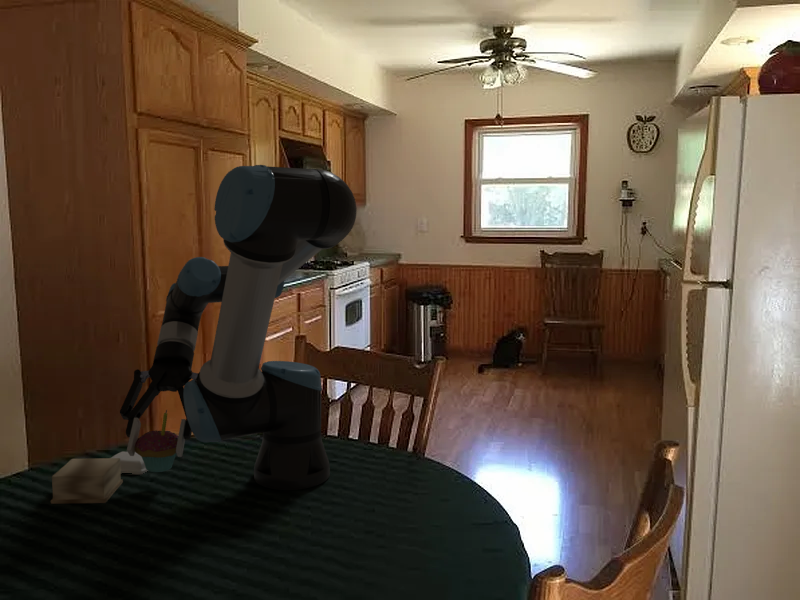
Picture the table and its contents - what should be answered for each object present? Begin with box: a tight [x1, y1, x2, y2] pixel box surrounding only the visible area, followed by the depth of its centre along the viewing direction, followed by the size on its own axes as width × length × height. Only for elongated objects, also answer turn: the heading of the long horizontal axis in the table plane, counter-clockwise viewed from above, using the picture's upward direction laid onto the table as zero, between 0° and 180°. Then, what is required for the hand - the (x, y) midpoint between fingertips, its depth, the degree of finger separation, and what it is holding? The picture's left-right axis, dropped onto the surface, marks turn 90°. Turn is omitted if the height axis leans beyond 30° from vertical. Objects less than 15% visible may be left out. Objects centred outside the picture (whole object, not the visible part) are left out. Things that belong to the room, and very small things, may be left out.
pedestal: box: [50, 457, 124, 505], centre depth 128 cm, size 10×10×5 cm
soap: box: [110, 451, 149, 475], centre depth 141 cm, size 9×7×3 cm
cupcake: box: [135, 409, 179, 473], centre depth 129 cm, size 9×8×12 cm
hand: (154, 453), depth 126 cm, fingers closed on cupcake, 8 cm apart
